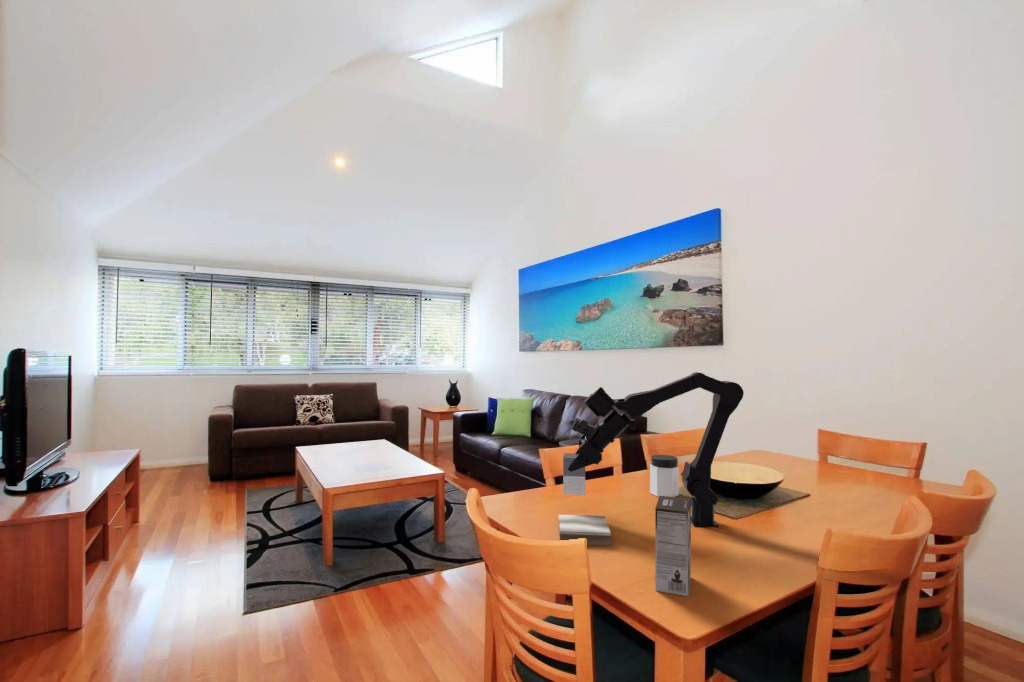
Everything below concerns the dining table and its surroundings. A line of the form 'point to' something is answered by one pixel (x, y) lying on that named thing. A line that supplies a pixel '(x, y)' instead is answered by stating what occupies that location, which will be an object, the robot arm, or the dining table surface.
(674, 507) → the coffee box
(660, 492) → the jar
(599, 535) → the stand
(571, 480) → the block
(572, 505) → the dining table surface
